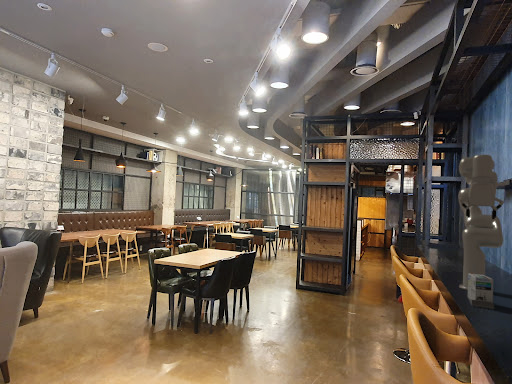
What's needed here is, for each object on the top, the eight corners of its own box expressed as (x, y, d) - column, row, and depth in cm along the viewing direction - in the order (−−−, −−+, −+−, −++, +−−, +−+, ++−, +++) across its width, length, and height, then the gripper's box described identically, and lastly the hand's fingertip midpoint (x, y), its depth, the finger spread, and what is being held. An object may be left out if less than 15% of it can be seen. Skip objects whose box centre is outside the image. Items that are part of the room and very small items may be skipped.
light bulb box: (493, 305, 144) (494, 278, 145) (474, 303, 146) (475, 277, 147) (484, 299, 155) (484, 274, 155) (466, 297, 156) (467, 272, 157)
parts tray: (468, 298, 158) (468, 293, 158) (488, 301, 155) (488, 295, 155) (471, 306, 145) (471, 299, 145) (493, 309, 142) (494, 302, 142)
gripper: (502, 182, 163) (501, 219, 162) (459, 182, 170) (458, 217, 170) (505, 181, 156) (504, 219, 155) (460, 180, 164) (459, 217, 163)
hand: (480, 218), depth 162 cm, fingers open, 9 cm apart
